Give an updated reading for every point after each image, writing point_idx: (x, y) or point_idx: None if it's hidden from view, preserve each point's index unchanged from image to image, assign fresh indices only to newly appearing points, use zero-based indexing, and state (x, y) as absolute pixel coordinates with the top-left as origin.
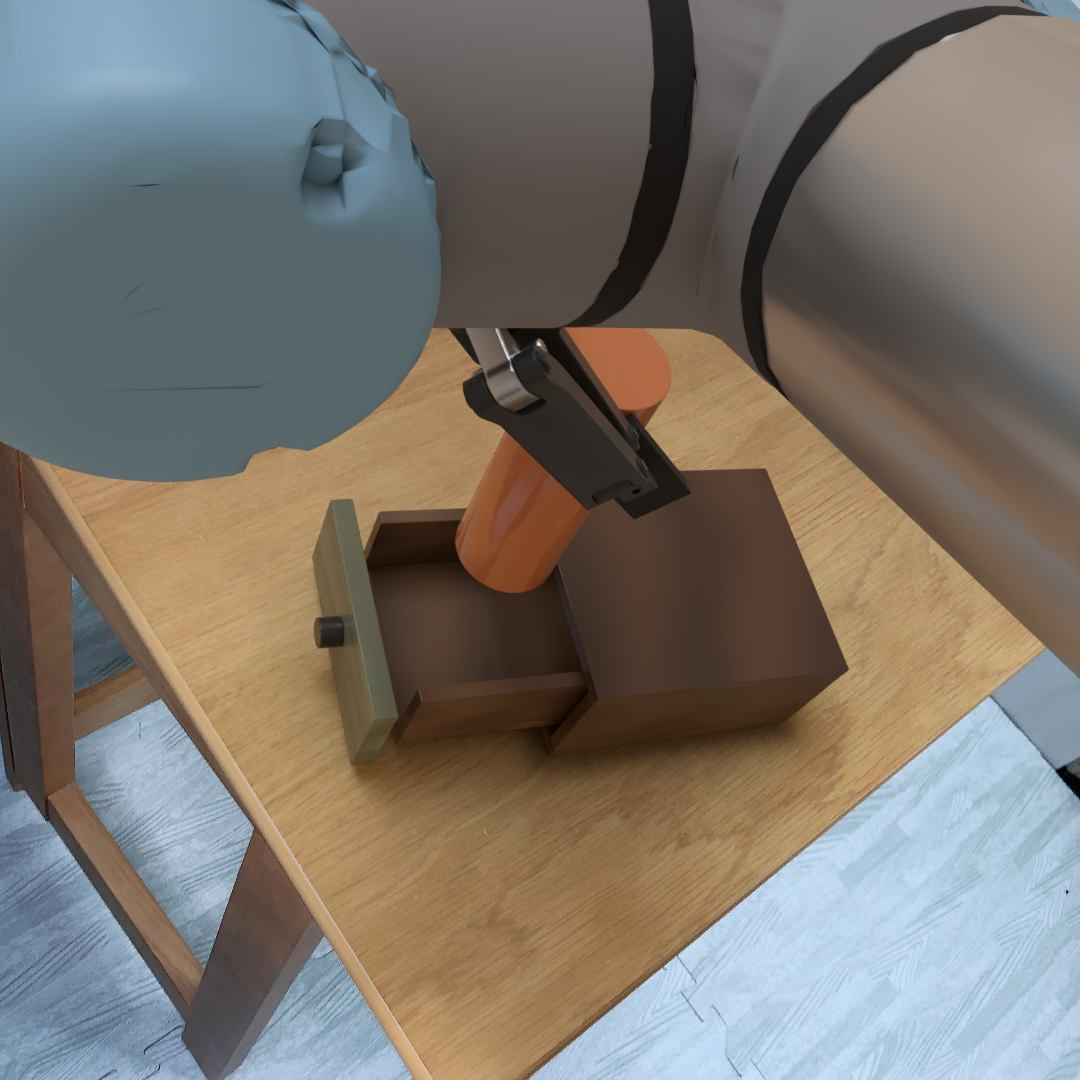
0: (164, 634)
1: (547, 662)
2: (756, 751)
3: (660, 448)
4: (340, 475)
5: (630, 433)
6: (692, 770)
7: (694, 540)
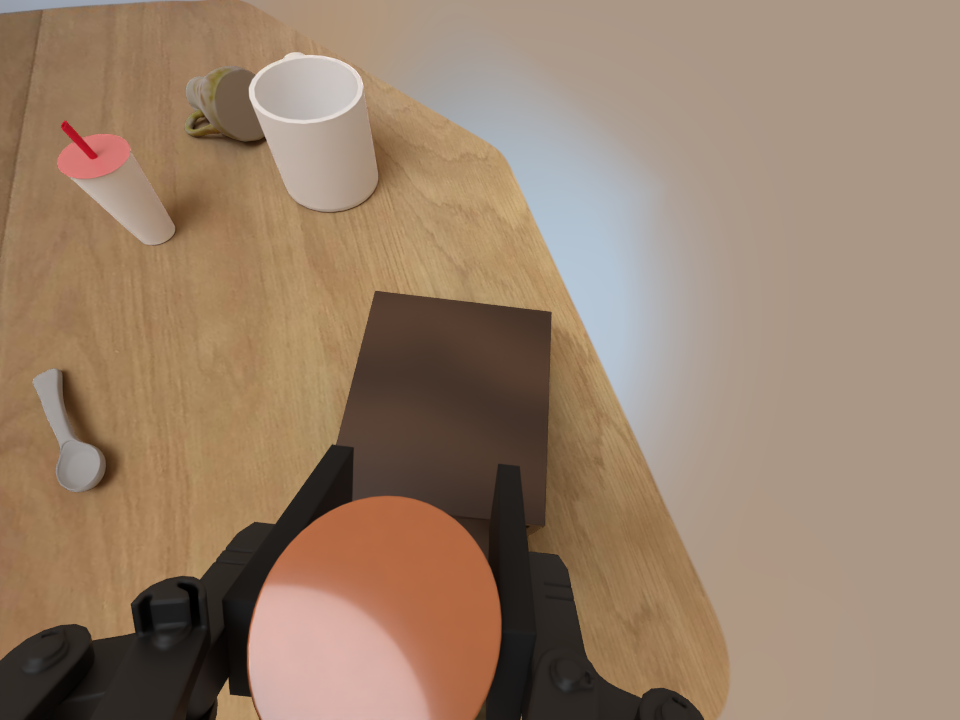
0: None
1: (465, 520)
2: None
3: (502, 528)
4: None
5: (577, 692)
6: (553, 433)
7: (423, 378)
